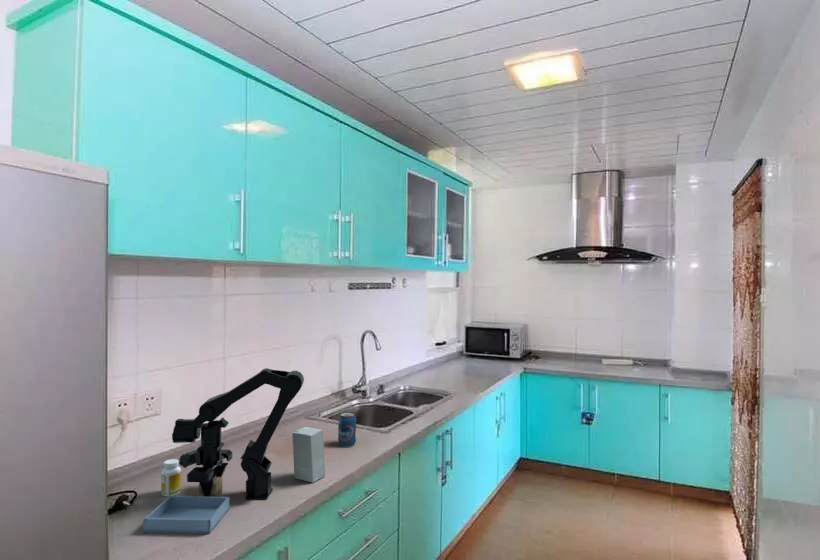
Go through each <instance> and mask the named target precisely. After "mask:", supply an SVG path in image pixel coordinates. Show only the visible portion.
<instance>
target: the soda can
mask: <svg viewBox="0 0 820 560" xmlns="http://www.w3.org/2000/svg"><path fill="white" fill-rule="evenodd" d="M337 422H338V424H337V425H338V428H337V429H338V431H337V432H338V434H337V435H338V437H337V443H338V444H339V446H340V447H342V448H350V447H351V448H352V447H354V446H355V444H356V442H357V416H356V413H354V412H352V411H351V412H349V411H347V412H342V413H340V414H339V417H338V421H337Z"/></svg>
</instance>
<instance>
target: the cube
mask: <svg viewBox="0 0 820 560" xmlns="http://www.w3.org/2000/svg"><path fill="white" fill-rule="evenodd" d="M222 495H223V476H222V477H216V478H215V481H214V484H213V487H212V490H211V493H210V496H209V497H222ZM198 496H203V497H205V496H204V494H203V491H202V488H201V485H200V483H199V482H198Z"/></svg>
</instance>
